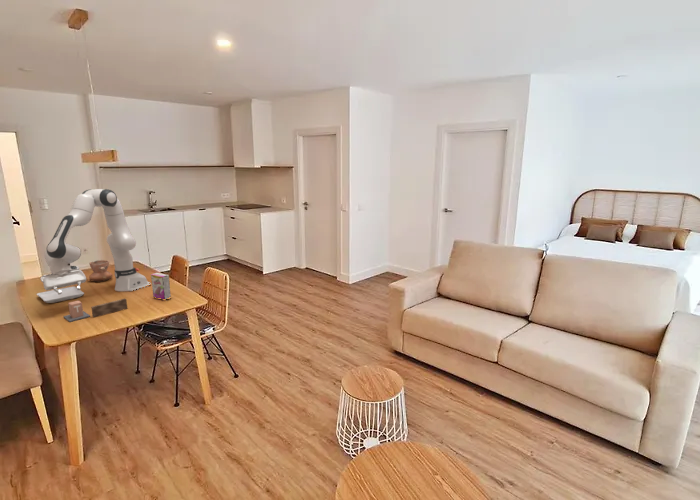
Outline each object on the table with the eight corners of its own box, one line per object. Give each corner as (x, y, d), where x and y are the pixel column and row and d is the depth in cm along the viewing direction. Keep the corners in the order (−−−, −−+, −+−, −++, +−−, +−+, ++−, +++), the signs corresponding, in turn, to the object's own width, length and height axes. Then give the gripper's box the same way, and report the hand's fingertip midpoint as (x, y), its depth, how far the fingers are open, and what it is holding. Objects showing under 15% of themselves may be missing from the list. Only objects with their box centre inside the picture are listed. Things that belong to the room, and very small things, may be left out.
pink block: (80, 313, 223) (78, 300, 221) (83, 315, 220) (81, 302, 218) (70, 316, 219) (68, 302, 217) (73, 318, 216) (71, 305, 214)
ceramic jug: (115, 280, 285) (113, 262, 282) (93, 284, 274) (90, 265, 272) (108, 276, 297) (106, 258, 294) (86, 279, 287) (84, 261, 284)
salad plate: (74, 290, 264) (74, 285, 263) (85, 297, 251) (85, 292, 250) (36, 298, 248) (35, 293, 247) (45, 306, 235) (44, 301, 234)
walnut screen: (125, 307, 235) (124, 298, 233) (127, 308, 233) (126, 299, 232) (92, 316, 221) (91, 306, 219) (94, 317, 220) (92, 307, 218)
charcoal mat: (83, 312, 226) (83, 311, 226) (90, 316, 220) (90, 315, 220) (63, 317, 218) (63, 316, 218) (69, 322, 213) (69, 320, 212)
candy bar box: (152, 298, 251) (150, 274, 248) (159, 296, 256) (157, 272, 252) (164, 301, 247) (162, 276, 243) (171, 298, 251) (169, 274, 248)
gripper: (39, 273, 215) (48, 293, 211) (81, 265, 230) (90, 284, 227) (38, 279, 218) (47, 299, 215) (80, 271, 234) (88, 289, 231)
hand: (69, 291), depth 221 cm, fingers open, 8 cm apart
